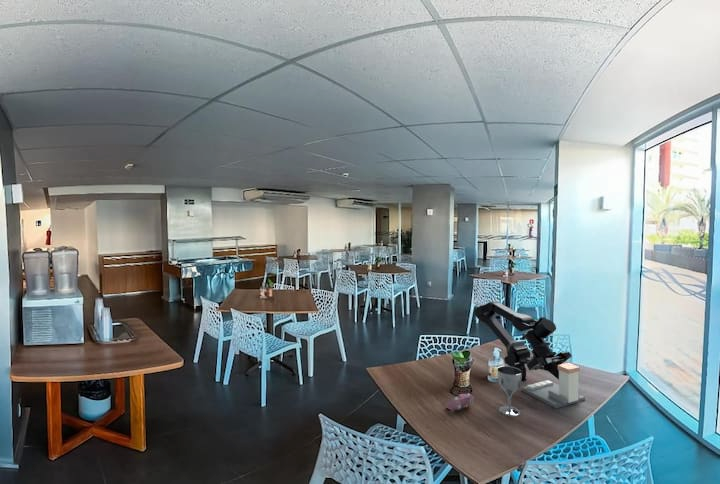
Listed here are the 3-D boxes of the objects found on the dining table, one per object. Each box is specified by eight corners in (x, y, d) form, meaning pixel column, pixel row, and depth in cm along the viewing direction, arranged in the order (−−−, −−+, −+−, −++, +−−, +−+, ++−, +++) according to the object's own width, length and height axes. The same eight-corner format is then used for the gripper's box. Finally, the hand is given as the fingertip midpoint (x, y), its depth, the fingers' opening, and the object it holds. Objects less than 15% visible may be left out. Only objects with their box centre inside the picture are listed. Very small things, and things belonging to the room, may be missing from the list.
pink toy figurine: (451, 417, 129) (457, 403, 126) (444, 406, 133) (449, 393, 130) (471, 410, 134) (478, 397, 131) (463, 400, 137) (469, 387, 134)
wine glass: (520, 407, 132) (520, 367, 131) (522, 418, 124) (522, 375, 123) (497, 404, 134) (497, 364, 133) (498, 415, 127) (497, 373, 126)
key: (557, 397, 135) (557, 365, 134) (568, 394, 137) (568, 362, 136) (568, 403, 131) (568, 369, 130) (579, 400, 133) (579, 366, 132)
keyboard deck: (521, 390, 145) (521, 382, 145) (548, 383, 151) (548, 375, 150) (557, 409, 130) (557, 400, 130) (586, 400, 135) (586, 392, 135)
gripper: (543, 350, 154) (567, 385, 145) (510, 357, 147) (532, 394, 138) (559, 337, 147) (585, 373, 137) (525, 343, 140) (549, 382, 130)
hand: (563, 381), depth 136 cm, fingers closed, pressing on key
